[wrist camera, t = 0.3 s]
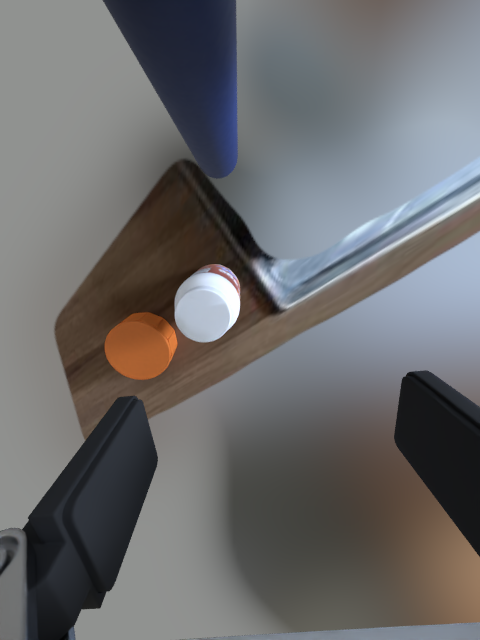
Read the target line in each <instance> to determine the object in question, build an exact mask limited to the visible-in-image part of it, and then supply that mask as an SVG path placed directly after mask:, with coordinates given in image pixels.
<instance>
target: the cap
mask: <svg viewBox="0 0 480 640" xmlns="http://www.w3.org/2000/svg"><path fill="white" fill-rule="evenodd" d="M176 347H177V339H176V335H175V331H174V329H173V328H172V327H171V326H170V324H169V323H168V322H167V321H166V320H165V319H163V318H162V317H160V316H157V315H155V314H152V313H150V312H143V313H134V314H131V315H130V316H129V317H127V318H126V319H125V320H123V321H122V322H121V323H119V324H118V325H117V326H116V327H114V328H113V329H112V330H110V332H109V334H108V335H107V337H106V340H105V354H106V357H107V359H108V361H109V363H110V364H111V365H112V367H113V368H114V369H115V370H117V371H118V372H119V373H121V374H122V375H124V376H126V377H129V378H132V379H137V380H146V379H151V378H154V377H156V376H158V375H159V374H161V373H162V372H163V371H164V370H165V369H166V368H167V367H168V365H169V363H170V361H171V359H172V357H173V355H174V352H175V350H176Z"/></svg>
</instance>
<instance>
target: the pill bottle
mask: <svg viewBox="0 0 480 640" xmlns="http://www.w3.org/2000/svg"><path fill="white" fill-rule="evenodd" d="M239 310H240V286H239V282H238V279H237V277H236V276H235V274H234V273H233V272H232V271H231V270H229V269H228V268H226V267H224V266H222V265H217V264H211V265H206V266H204V267H202V268H200V269H199V270H197V271H196V272H195V273H194V274H193V275H192V276H190V277H189V278H188V279H187V280H185V281H184V282H183V283H182V285H181V286H180V287H179V289H178V291H177V293H176V296H175V321H176V324H177V326H178V328H179V330H180V331H181V332H182V333H183V334H184V335H185V336H186V337H188V338H189V339H191V340H194V341H197V342H211V341H214V340H217V339H218V338H220V337H221V336H223V335H224V334H225V332H226V331H227V330H228V329H230V328H231V327H232V325H233V324H234V323H235V321H236V319H237V317H238V314H239Z"/></svg>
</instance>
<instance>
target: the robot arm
mask: <svg viewBox="0 0 480 640" xmlns="http://www.w3.org/2000/svg"><path fill="white" fill-rule="evenodd" d="M394 439H395V443H396V445H397V447H398V448H399V450H400V451H401V452H402V454H403V455H404V456H405V458H406V459H407V460H408V462H409V463H410V464H411V466H412V467H413V468H414V470H415V471H416V472H417V474H418V475H419V476H420V478H421V479H422V480H423V482H424V483H425V484H426V486H427V487H428V488H429V490H430V491H431V492H432V494H433V495H434V496H435V498H436V499H437V500H438V502H439V503H440V504H441V506H442V507H443V508H444V510H445V511H446V512H447V514H448V515H449V516H450V518H451V519H452V520H453V522H454V523H455V524H456V526H457V527H458V528H459V530H460V531H461V532H462V534H463V535H464V536H465V538H466V539H467V540H468V542H469V543H470V544H471V546H472V547H473V548H474V550H475V551H476V552H477V554H478V555H479V556H480V407H479V406H477V405H476V404H475V403H473V402H472V401H470V400H469V399H468V398H466V397H465V396H463V395H462V394H460V393H459V392H458V391H456V390H455V389H453V388H452V387H451V386H449V385H448V384H446V383H445V382H444V381H442V380H441V379H440V378H438V377H437V376H435V375H434V374H432V373H431V372H429V371H415V372H409V373H407V375H406V377H403V379H402V383H401V390H400V397H399V405H398V412H397V420H396V427H395V435H394ZM157 461H158V457H157V452H156V448H155V445H154V441H153V437H152V434H151V430H150V427H149V423H148V419H147V416H146V412H145V408H144V405H143V402H142V400H138V398H137V397H136V396H127V397H119V398H118V399H117V400H116V401H115V402H114V404H113V405H112V406H111V408H110V409H109V410H108V412H107V413H106V414H105V416H104V417H103V418H102V420H101V421H100V422H99V424H98V425H97V426H96V428H95V429H94V430H93V431H92V433H91V434H90V435H89V437H88V438H87V439H86V441H85V442H84V443H83V445H82V446H81V448H80V449H79V450H78V452H77V453H76V454H75V456H74V457H73V458H72V460H71V461H70V462H69V463H68V465H67V466H66V467H65V469H64V470H63V471H62V473H61V474H60V476H59V477H58V478H57V480H56V481H55V482H54V483H53V485H52V486H51V488H50V489H49V490H48V491H47V493H46V494H45V496H44V497H43V498H42V500H41V501H40V502H39V504H38V505H37V506H36V507H35V509H34V510H33V511H32V513H31V514H30V515H29V517H28V519H29V521H28V523H27V524H26V525H25V527H24V528H23V529H22V530H21V529H19V528H9V529H5V530H2V531H0V640H75V632H74V625H75V623H76V621H77V618H78V616H79V613H80V611H81V609H96V608H100V607H101V605H102V602H103V599H104V597H105V594H106V591H110V590H111V589H112V587H113V586H114V583H115V581H116V578H117V576H118V573H119V570H120V567H121V564H122V562H123V559H124V556H125V553H126V551H127V548H128V545H129V542H130V539H131V537H132V533H133V531H134V528H135V525H136V523H137V520H138V517H139V514H140V511H141V508H142V506H143V503H144V500H145V498H146V494H147V492H148V489H149V486H150V484H151V481H152V478H153V475H154V472H155V470H156V467H157ZM182 640H480V622H479V623H461V624H460V623H459V624H439V625H420V626H402V627H383V628H366V629H348V630H330V631H313V632H295V633H278V634H262V635H244V636H230V637H214V638H198V639H182Z"/></svg>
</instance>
